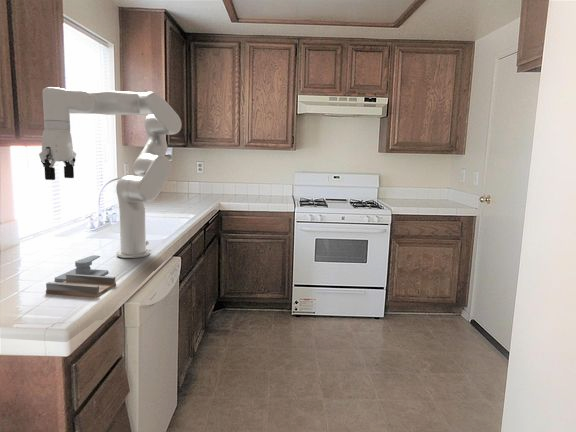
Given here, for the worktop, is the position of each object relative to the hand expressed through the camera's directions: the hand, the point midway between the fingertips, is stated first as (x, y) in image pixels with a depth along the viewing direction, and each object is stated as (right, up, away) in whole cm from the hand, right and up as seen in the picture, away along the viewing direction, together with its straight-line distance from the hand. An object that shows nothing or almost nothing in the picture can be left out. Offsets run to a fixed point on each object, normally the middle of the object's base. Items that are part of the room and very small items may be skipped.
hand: (60, 178), depth 144 cm
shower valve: (+9, -29, +9) cm, 31 cm away
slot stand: (+13, -35, -12) cm, 39 cm away
